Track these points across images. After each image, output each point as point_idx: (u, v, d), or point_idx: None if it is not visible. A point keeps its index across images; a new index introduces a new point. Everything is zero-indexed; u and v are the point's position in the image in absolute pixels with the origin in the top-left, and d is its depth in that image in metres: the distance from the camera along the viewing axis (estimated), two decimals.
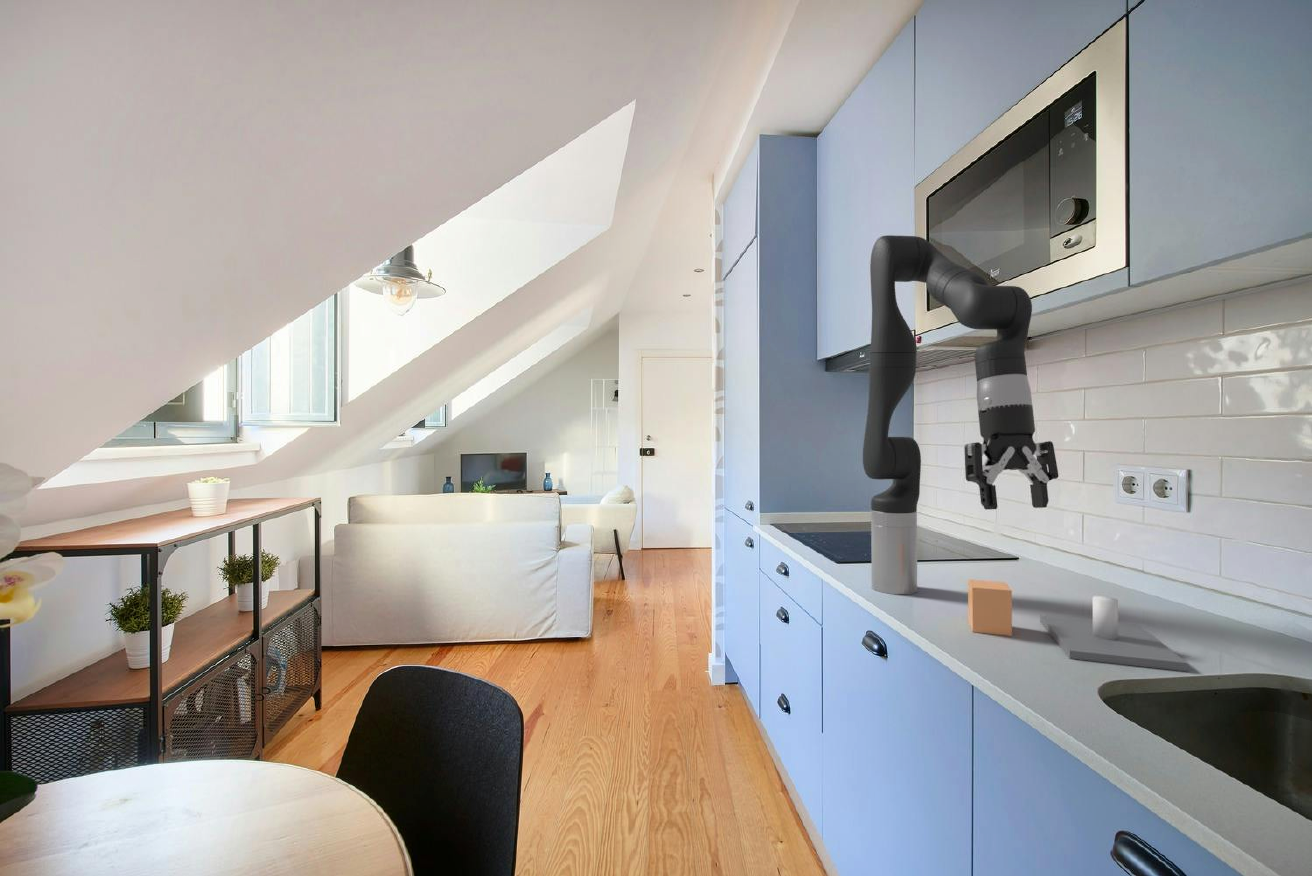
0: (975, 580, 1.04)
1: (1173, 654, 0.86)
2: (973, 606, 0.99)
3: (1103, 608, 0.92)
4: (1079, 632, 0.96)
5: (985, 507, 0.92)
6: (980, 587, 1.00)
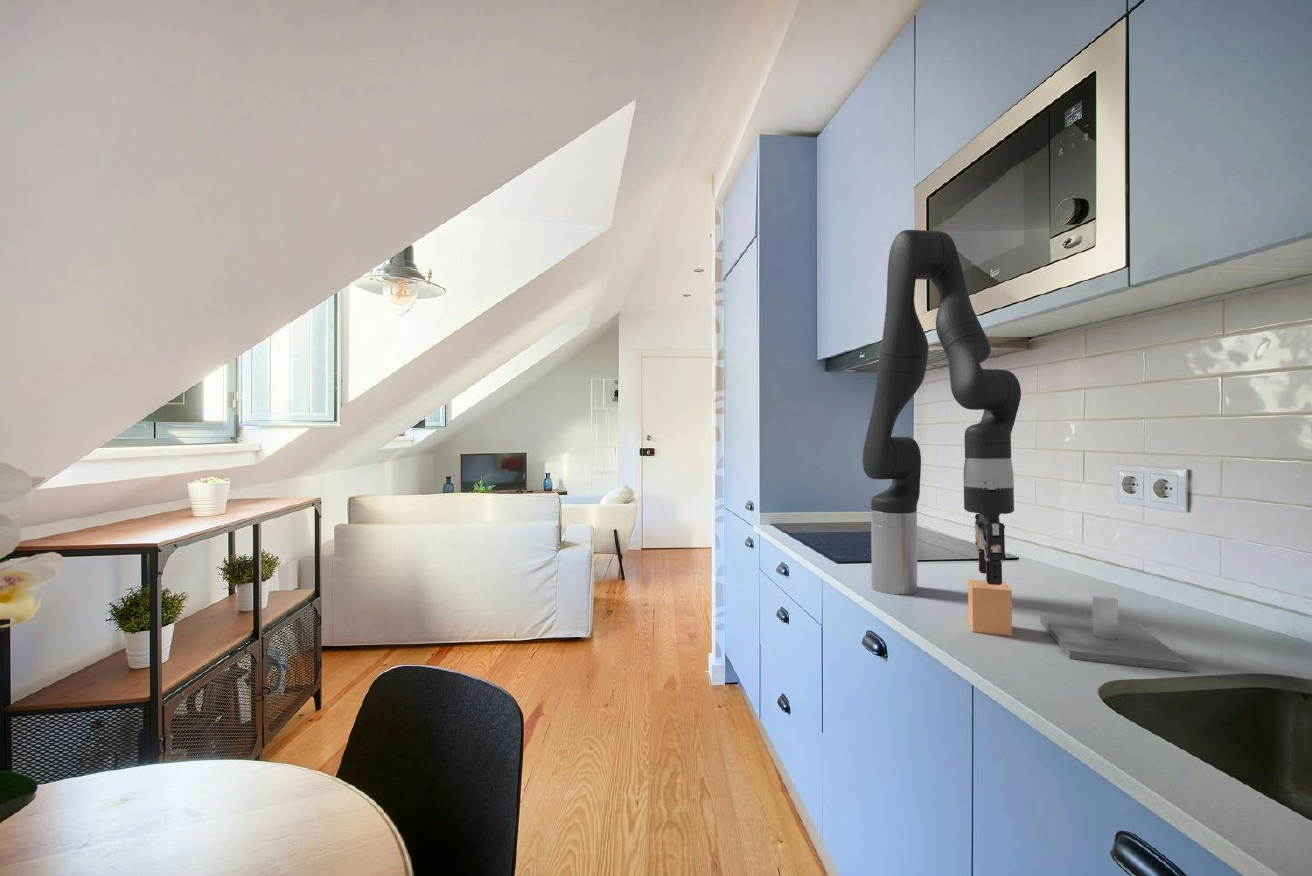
0: (975, 580, 1.04)
1: (1173, 654, 0.86)
2: (973, 606, 0.99)
3: (1103, 608, 0.92)
4: (1079, 632, 0.96)
5: (989, 582, 0.97)
6: (980, 587, 1.00)
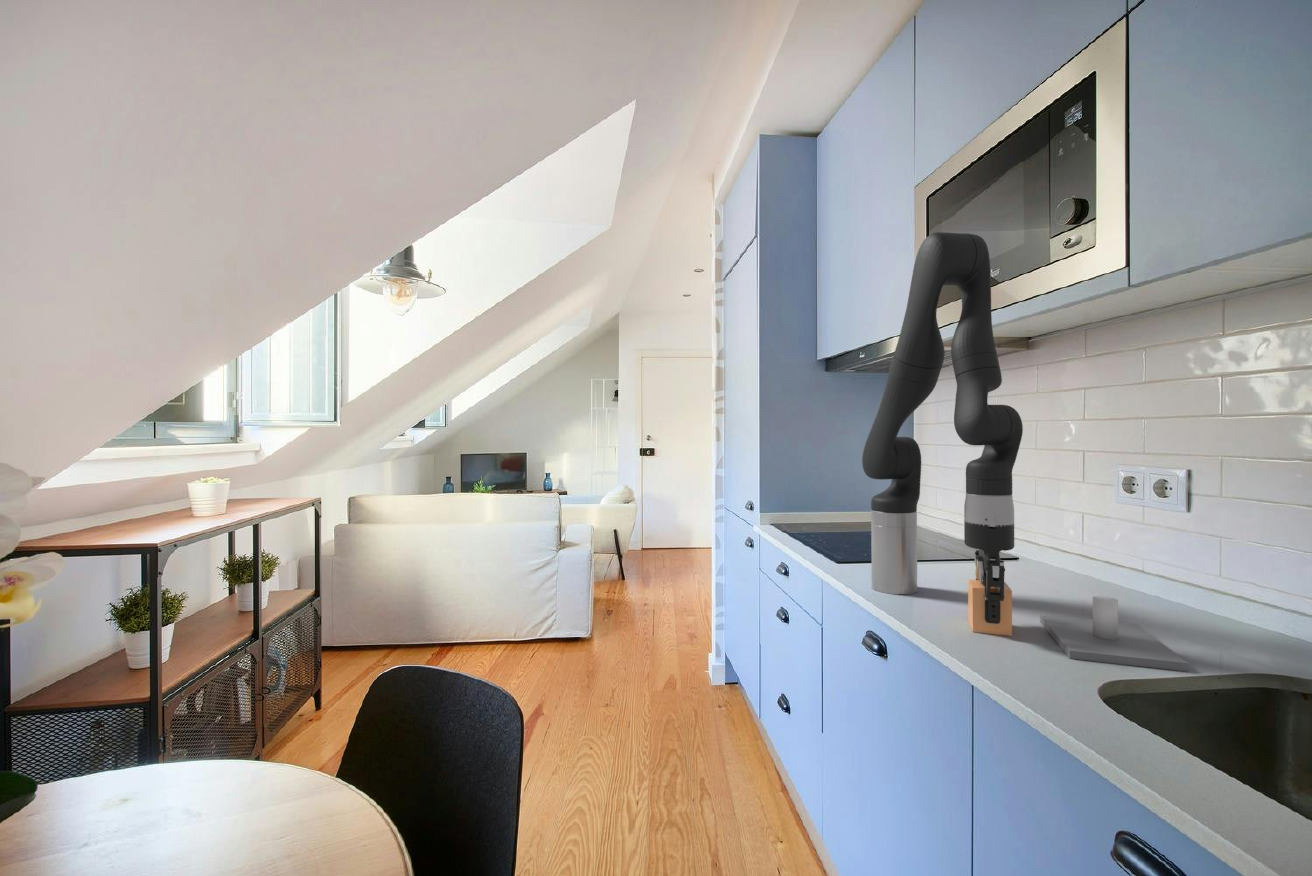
0: (975, 580, 1.04)
1: (1173, 654, 0.86)
2: (973, 606, 0.99)
3: (1103, 608, 0.92)
4: (1079, 632, 0.96)
5: (988, 621, 0.98)
6: (980, 587, 1.00)
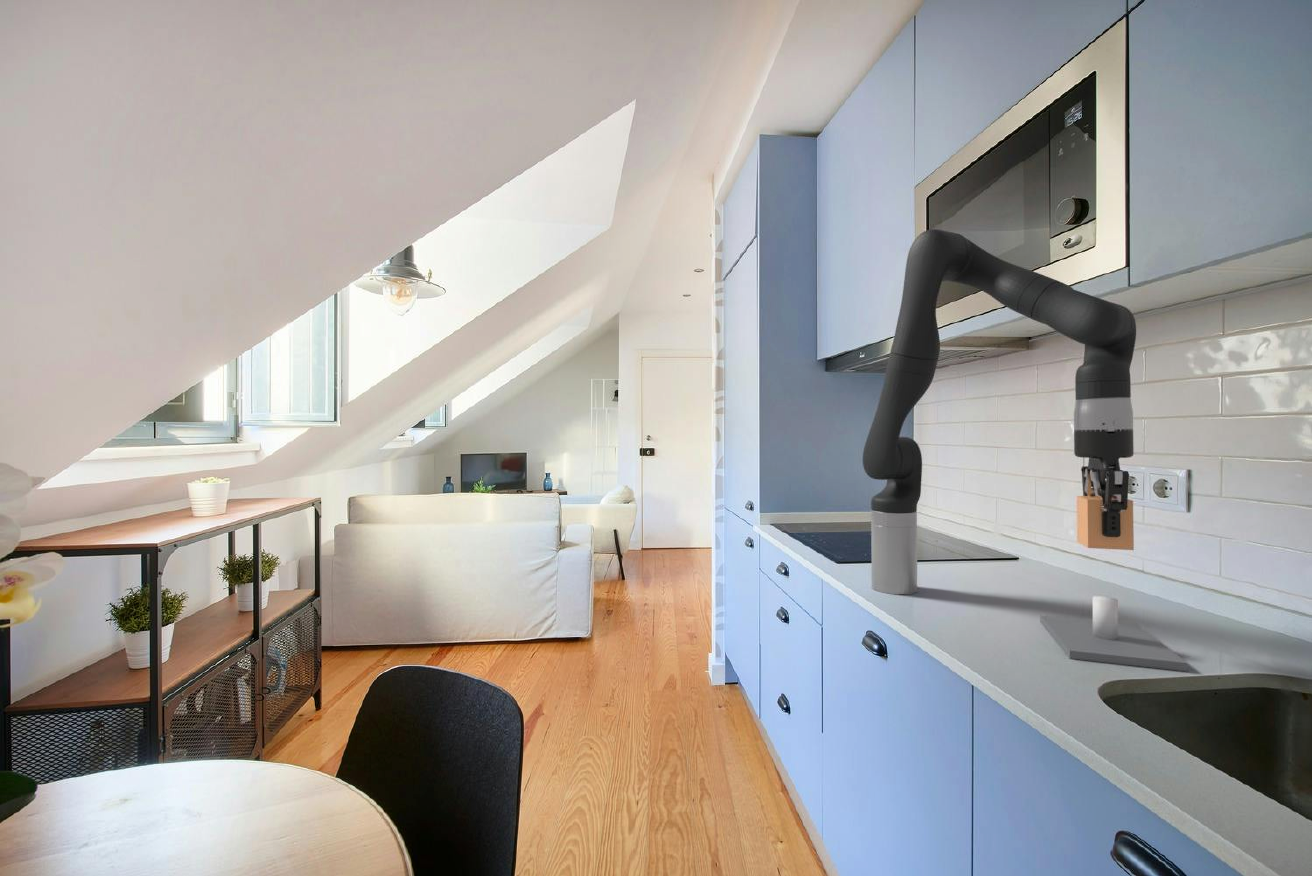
0: (1085, 496, 0.96)
1: (1173, 654, 0.86)
2: (1088, 520, 0.92)
3: (1103, 608, 0.92)
4: (1079, 632, 0.96)
5: (1106, 534, 0.90)
6: (1096, 499, 0.92)
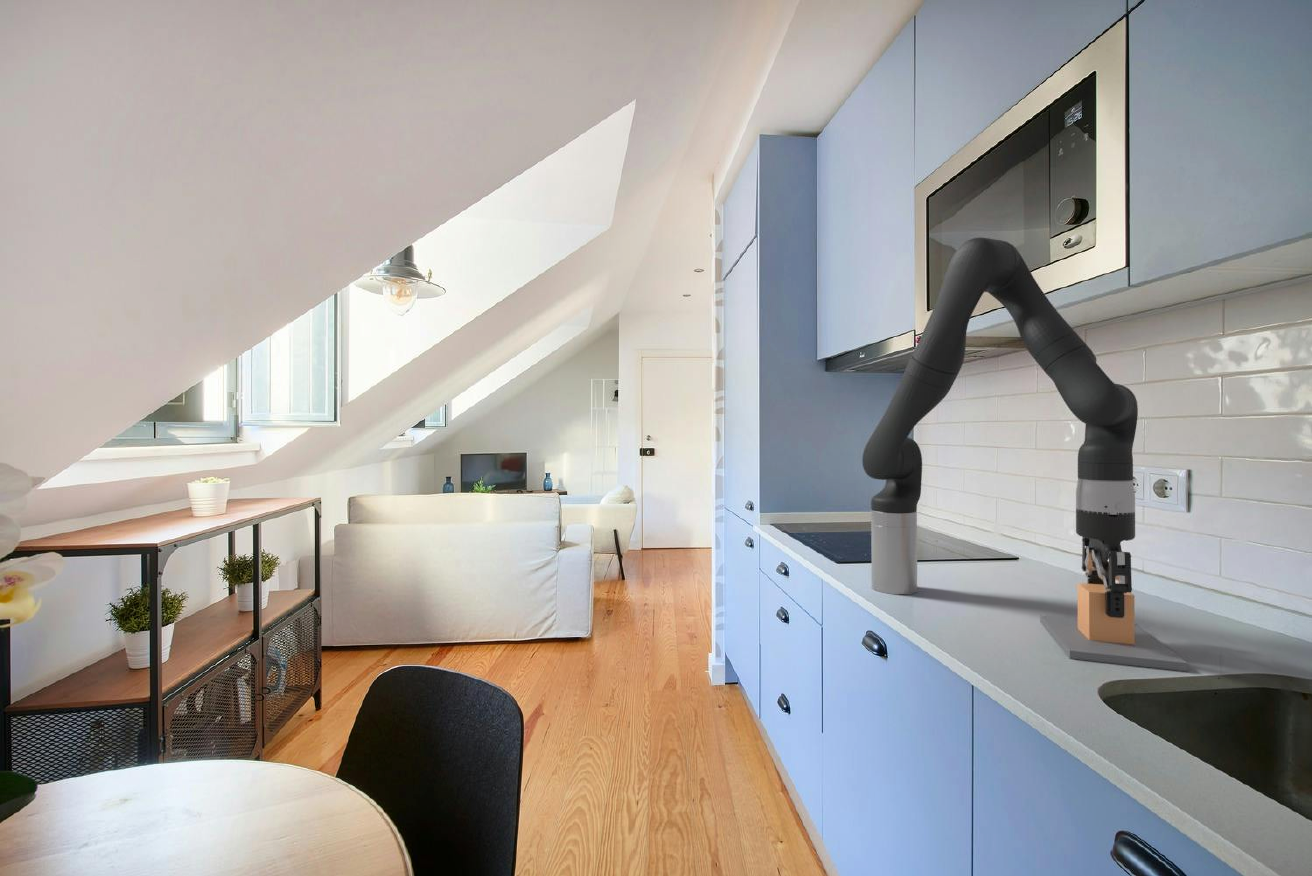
0: (1086, 584, 0.96)
1: (1173, 654, 0.86)
2: (1090, 612, 0.92)
3: None
4: (1079, 632, 0.96)
5: (1110, 615, 0.89)
6: (1097, 591, 0.92)
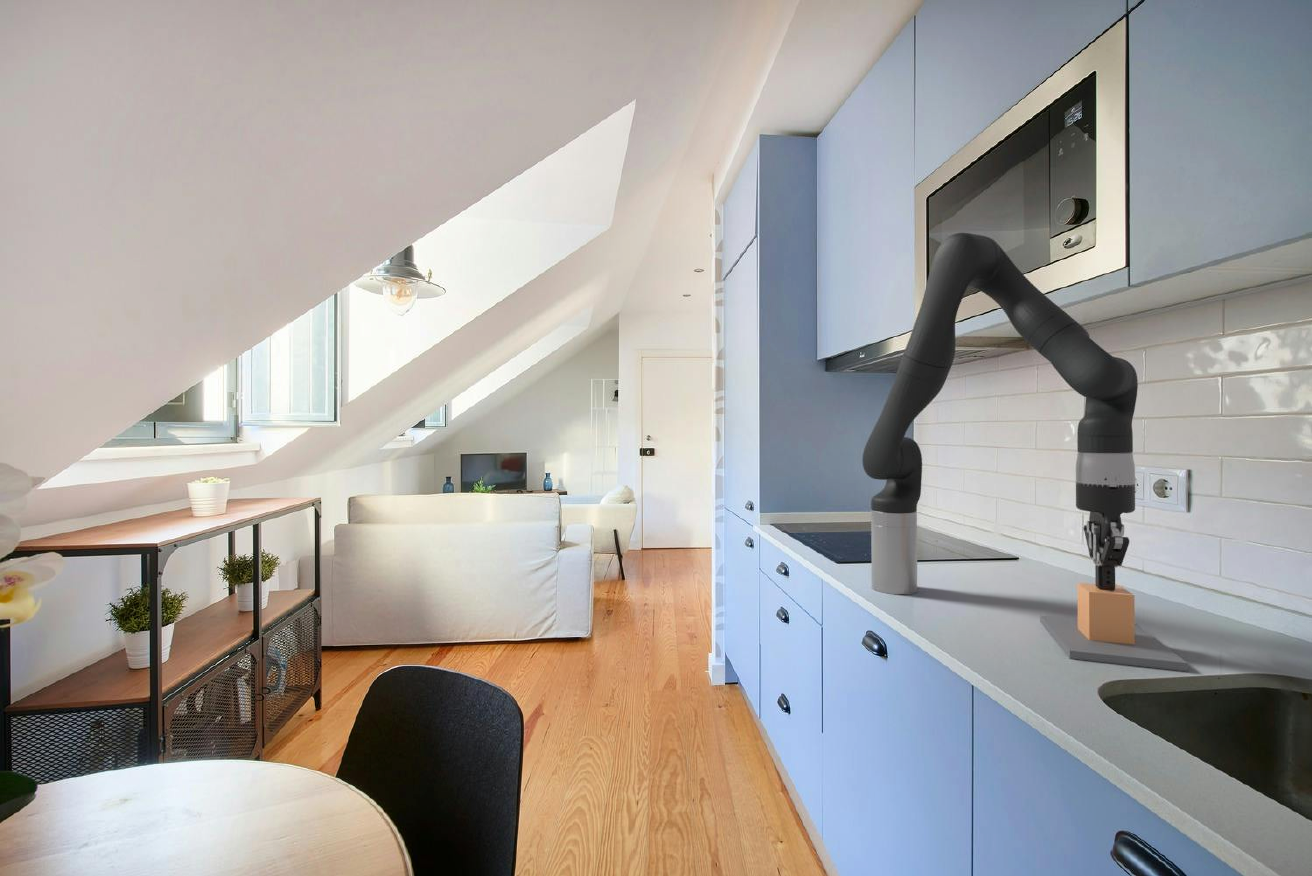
0: (1086, 584, 0.96)
1: (1173, 654, 0.86)
2: (1090, 612, 0.92)
3: None
4: (1079, 632, 0.96)
5: (1101, 588, 0.93)
6: (1097, 591, 0.92)
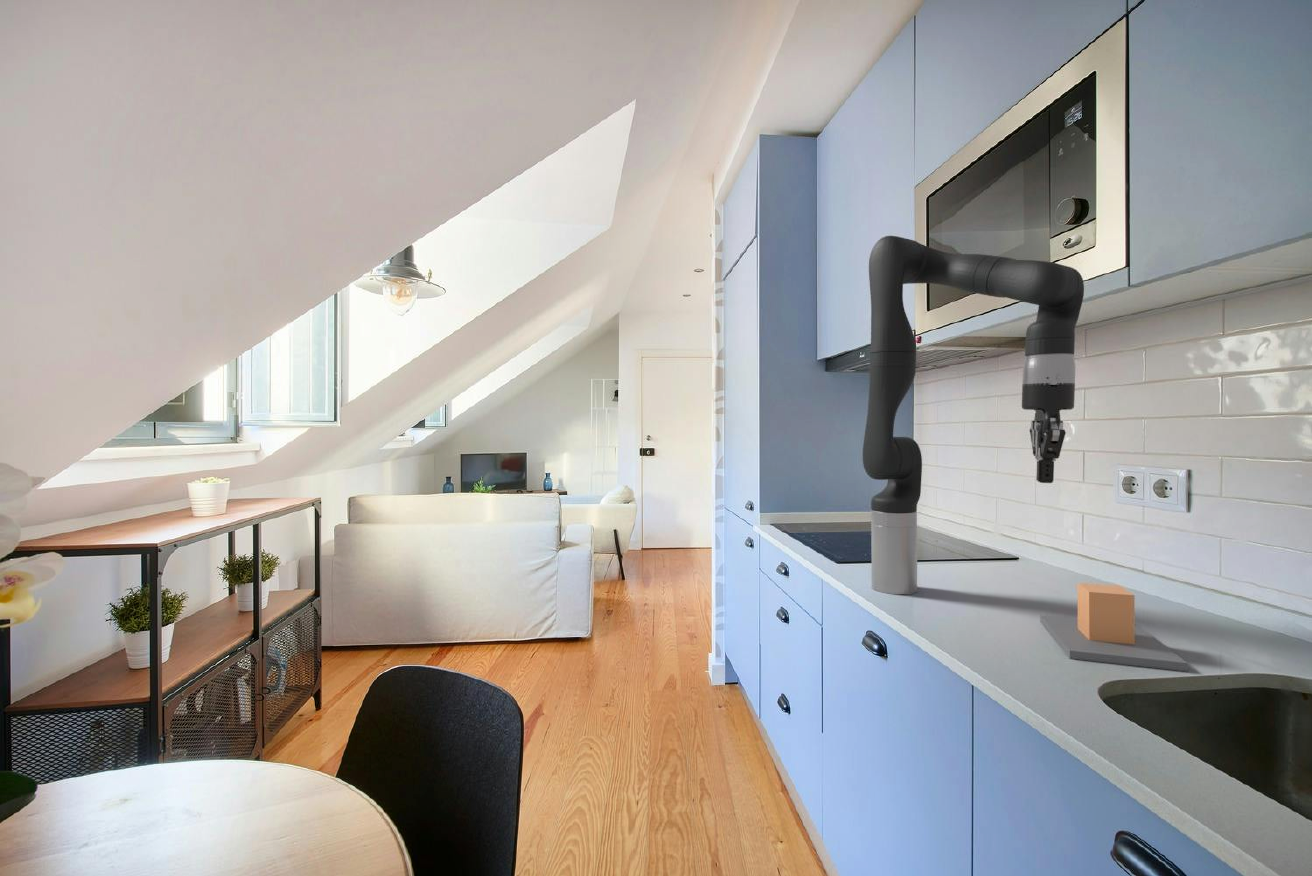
0: (1086, 584, 0.96)
1: (1173, 654, 0.86)
2: (1090, 612, 0.92)
3: None
4: (1079, 632, 0.96)
5: (1041, 480, 1.01)
6: (1097, 591, 0.92)
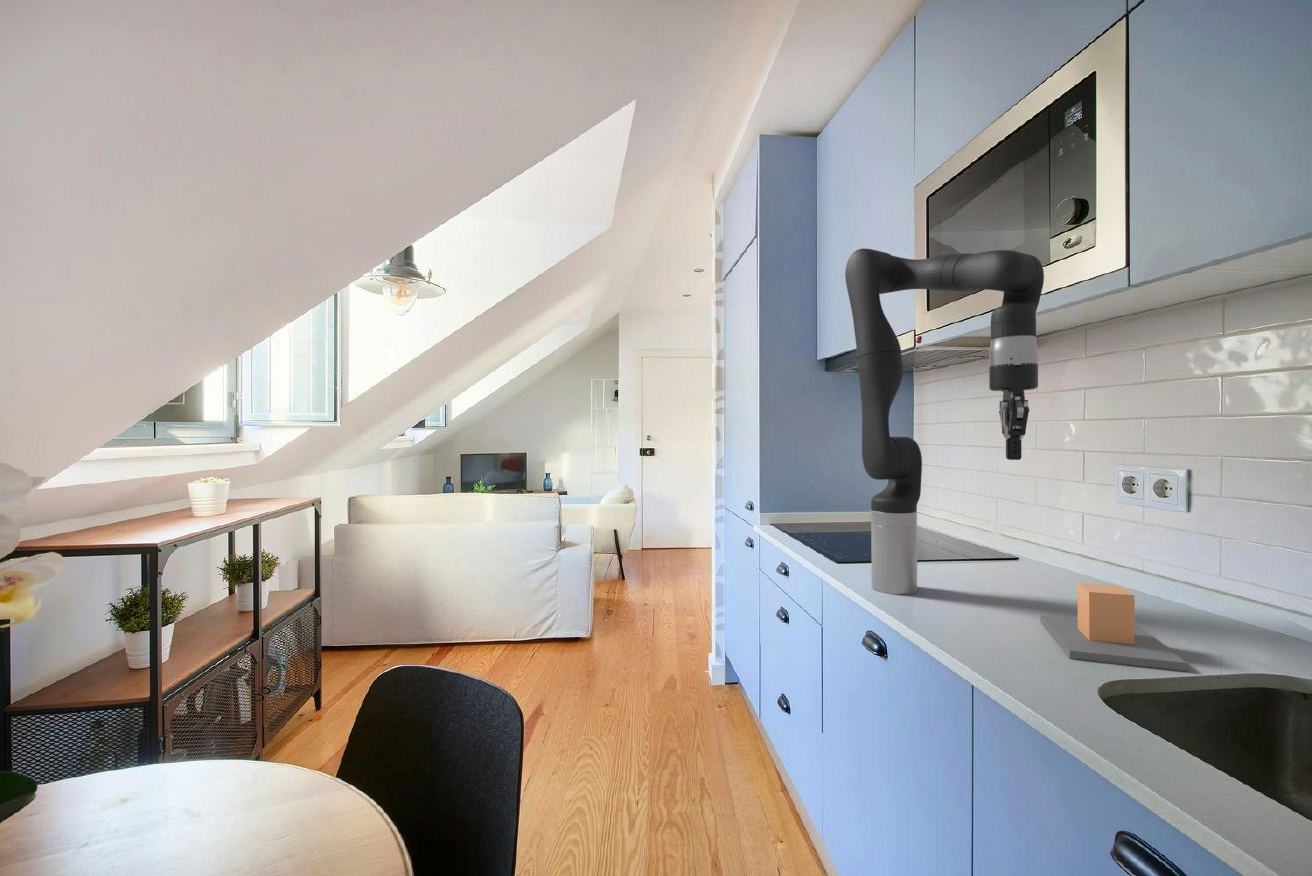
0: (1086, 584, 0.96)
1: (1173, 654, 0.86)
2: (1090, 612, 0.92)
3: None
4: (1079, 632, 0.96)
5: (1009, 458, 1.05)
6: (1097, 591, 0.92)
